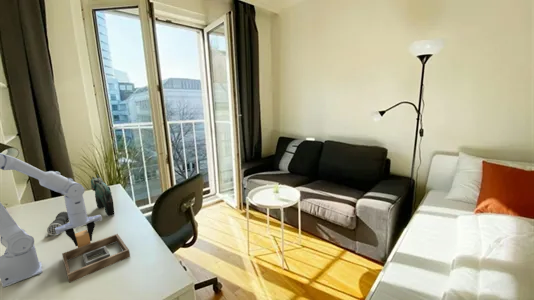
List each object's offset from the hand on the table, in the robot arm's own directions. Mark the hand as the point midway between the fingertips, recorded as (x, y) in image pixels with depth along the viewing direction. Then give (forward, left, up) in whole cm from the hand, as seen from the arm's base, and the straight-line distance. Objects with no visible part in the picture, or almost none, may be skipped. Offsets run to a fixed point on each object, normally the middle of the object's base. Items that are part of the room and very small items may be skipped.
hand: (83, 242), depth 98 cm
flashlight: (-5, +28, -2) cm, 29 cm away
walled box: (+2, -13, -2) cm, 13 cm away
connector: (0, 0, -2) cm, 2 cm away
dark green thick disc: (+14, +32, -2) cm, 35 cm away
